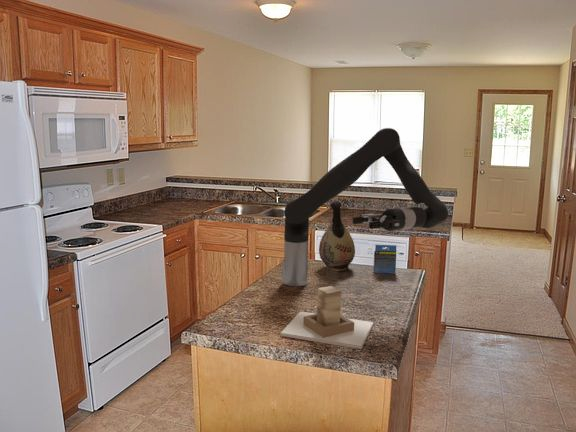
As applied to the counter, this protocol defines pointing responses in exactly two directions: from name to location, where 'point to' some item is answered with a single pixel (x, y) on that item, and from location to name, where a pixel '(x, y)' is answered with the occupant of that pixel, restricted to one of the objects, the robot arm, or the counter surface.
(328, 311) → the maple peg
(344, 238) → the ceramic jug
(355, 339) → the socket board
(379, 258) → the label tape cartridge
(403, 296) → the counter surface
